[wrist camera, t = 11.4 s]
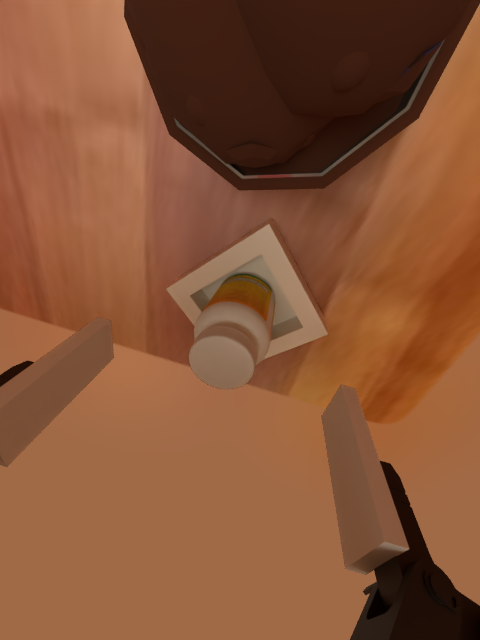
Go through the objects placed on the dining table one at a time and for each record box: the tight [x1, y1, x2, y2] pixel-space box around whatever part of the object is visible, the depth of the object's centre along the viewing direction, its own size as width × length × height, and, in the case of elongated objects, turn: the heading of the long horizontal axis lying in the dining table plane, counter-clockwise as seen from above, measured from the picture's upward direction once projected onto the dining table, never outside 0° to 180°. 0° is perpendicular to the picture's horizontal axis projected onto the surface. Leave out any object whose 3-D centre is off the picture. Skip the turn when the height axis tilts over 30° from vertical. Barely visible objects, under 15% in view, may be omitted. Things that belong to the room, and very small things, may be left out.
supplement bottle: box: [189, 272, 275, 389], centre depth 18 cm, size 5×5×10 cm
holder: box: [166, 218, 328, 359], centre depth 21 cm, size 10×10×3 cm
